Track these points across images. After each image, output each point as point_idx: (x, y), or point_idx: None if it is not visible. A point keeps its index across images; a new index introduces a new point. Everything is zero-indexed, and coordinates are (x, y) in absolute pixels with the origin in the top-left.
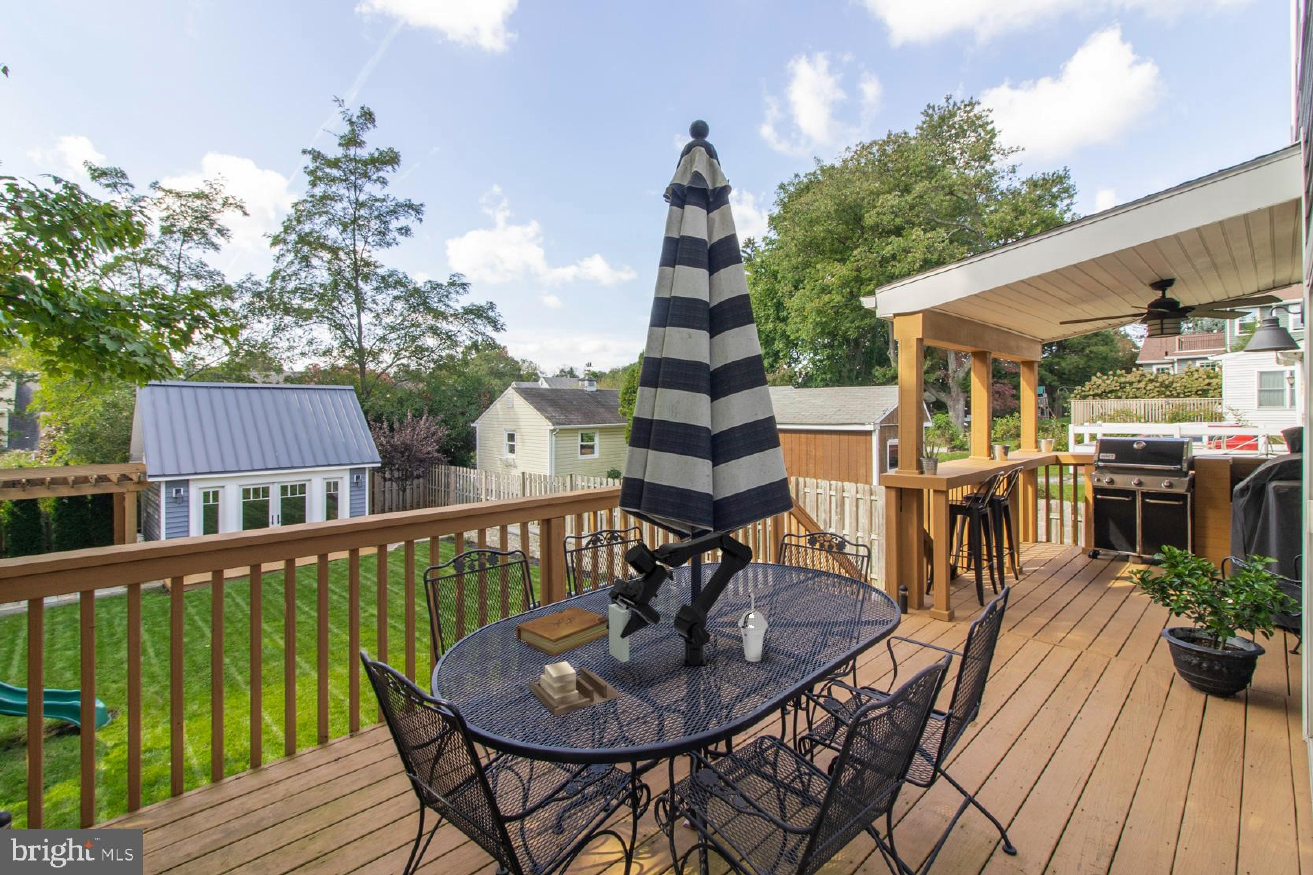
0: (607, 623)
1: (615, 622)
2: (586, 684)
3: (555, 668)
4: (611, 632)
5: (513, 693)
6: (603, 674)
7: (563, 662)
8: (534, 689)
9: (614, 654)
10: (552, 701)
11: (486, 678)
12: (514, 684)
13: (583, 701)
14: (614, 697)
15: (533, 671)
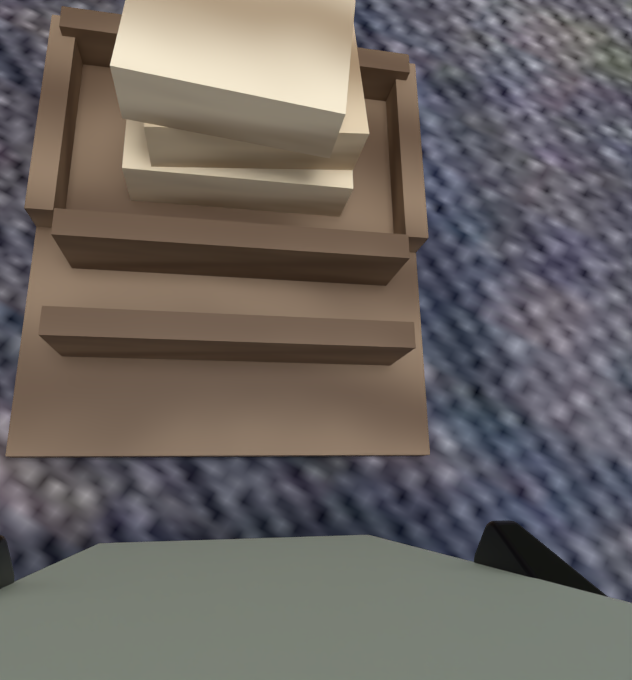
0: (566, 565)
1: (287, 616)
2: (146, 230)
3: (270, 2)
4: (390, 562)
5: (431, 47)
6: (402, 519)
7: (336, 89)
8: None
9: (269, 540)
10: None
11: (624, 33)
12: (516, 88)
13: (32, 165)
14: (23, 394)
15: (612, 212)
